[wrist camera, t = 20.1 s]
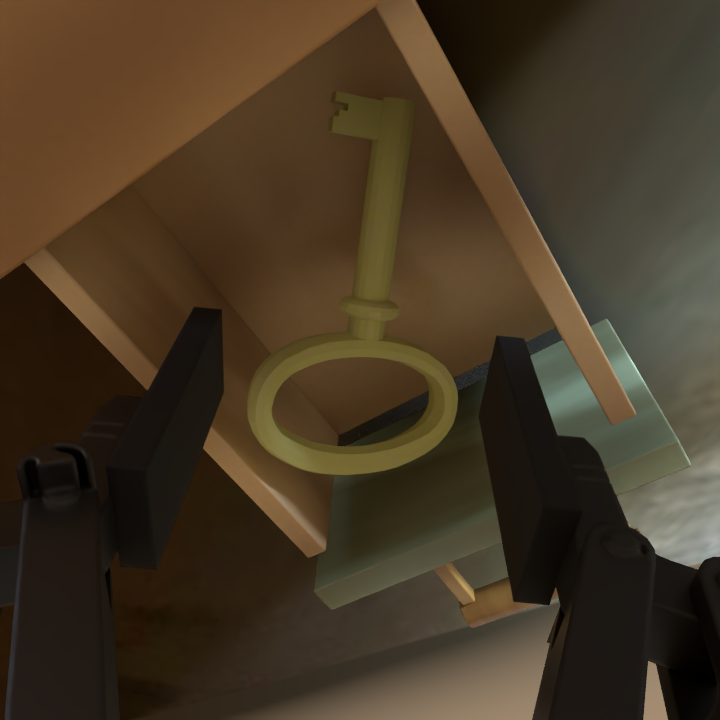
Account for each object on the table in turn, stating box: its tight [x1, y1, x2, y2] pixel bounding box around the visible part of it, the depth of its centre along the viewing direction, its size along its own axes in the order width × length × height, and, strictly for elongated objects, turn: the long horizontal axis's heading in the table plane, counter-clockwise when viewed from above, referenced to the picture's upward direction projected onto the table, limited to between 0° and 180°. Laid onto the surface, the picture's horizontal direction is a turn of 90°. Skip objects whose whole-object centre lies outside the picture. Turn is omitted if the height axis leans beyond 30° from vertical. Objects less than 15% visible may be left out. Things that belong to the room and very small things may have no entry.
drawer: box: [24, 0, 691, 628], centre depth 23 cm, size 25×13×8 cm, turn 33°
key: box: [247, 91, 458, 475], centre depth 21 cm, size 7×12×2 cm
